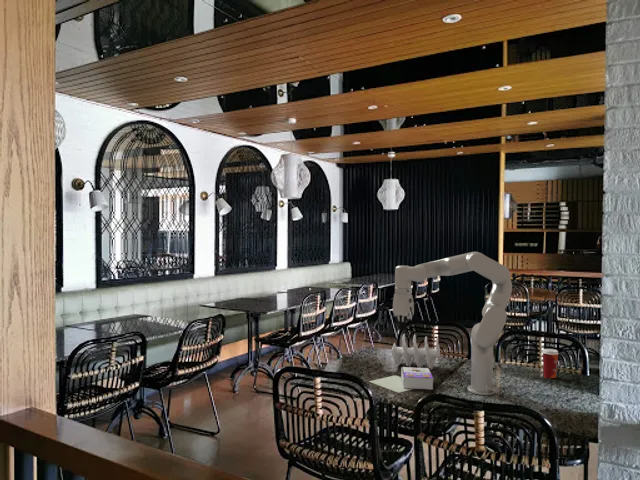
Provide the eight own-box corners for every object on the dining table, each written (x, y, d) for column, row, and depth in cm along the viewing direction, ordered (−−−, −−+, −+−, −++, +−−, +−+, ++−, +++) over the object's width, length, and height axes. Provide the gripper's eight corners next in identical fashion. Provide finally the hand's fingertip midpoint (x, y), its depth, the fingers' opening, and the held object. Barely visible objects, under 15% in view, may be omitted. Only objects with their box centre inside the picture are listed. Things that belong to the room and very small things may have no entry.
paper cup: (559, 380, 246) (559, 352, 246) (542, 378, 248) (543, 351, 248) (557, 376, 253) (557, 349, 253) (540, 374, 256) (541, 347, 256)
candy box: (433, 390, 228) (428, 379, 244) (433, 377, 228) (429, 367, 244) (403, 388, 229) (400, 378, 246) (403, 376, 229) (401, 366, 245)
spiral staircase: (395, 370, 275) (441, 372, 266) (388, 363, 260) (436, 366, 251) (397, 337, 282) (442, 339, 273) (391, 329, 268) (437, 331, 258)
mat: (425, 386, 234) (425, 385, 234) (398, 393, 223) (398, 392, 223) (395, 375, 250) (395, 375, 250) (369, 381, 239) (369, 381, 239)
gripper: (420, 292, 230) (419, 331, 230) (397, 289, 242) (396, 326, 242) (409, 293, 225) (408, 333, 226) (386, 290, 237) (385, 328, 238)
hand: (402, 329), depth 234 cm, fingers closed
